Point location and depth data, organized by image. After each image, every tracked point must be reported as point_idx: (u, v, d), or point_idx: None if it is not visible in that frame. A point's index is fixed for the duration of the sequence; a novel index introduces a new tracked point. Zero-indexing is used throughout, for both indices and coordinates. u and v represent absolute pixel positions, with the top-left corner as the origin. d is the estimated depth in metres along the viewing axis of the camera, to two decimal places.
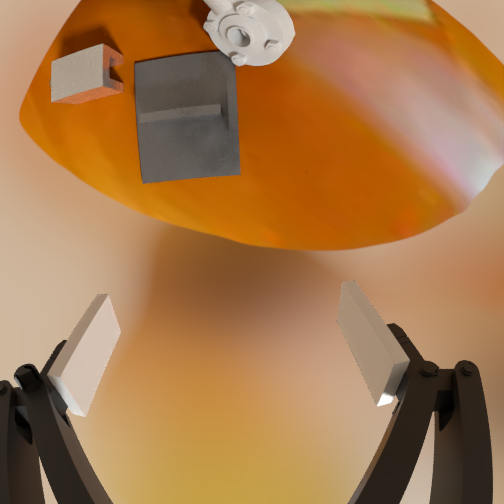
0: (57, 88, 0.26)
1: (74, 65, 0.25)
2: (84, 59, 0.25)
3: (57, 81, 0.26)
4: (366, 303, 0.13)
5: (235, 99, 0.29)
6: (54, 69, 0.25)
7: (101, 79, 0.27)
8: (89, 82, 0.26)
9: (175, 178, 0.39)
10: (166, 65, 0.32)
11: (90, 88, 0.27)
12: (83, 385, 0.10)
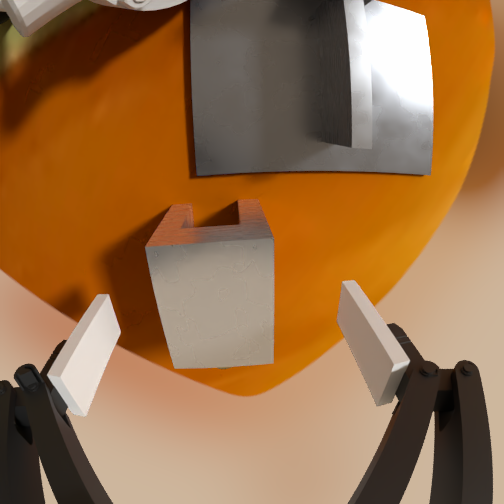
0: (245, 352, 0.16)
1: (195, 318, 0.15)
2: (184, 294, 0.14)
3: (227, 354, 0.16)
4: (366, 303, 0.13)
5: None
6: (195, 362, 0.16)
7: (253, 242, 0.13)
8: (254, 277, 0.14)
9: (431, 115, 0.17)
10: (211, 104, 0.17)
11: (271, 272, 0.14)
12: (83, 385, 0.10)
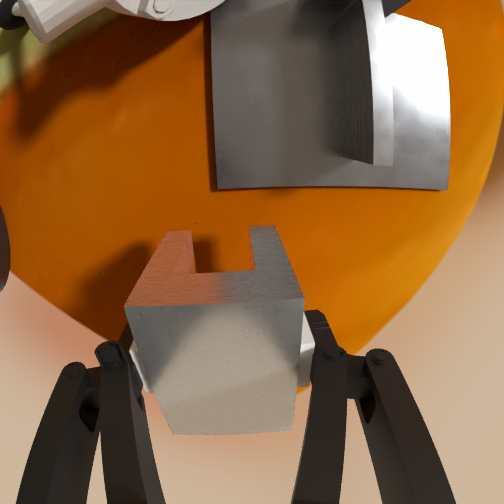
0: (259, 421, 0.12)
1: (196, 389, 0.11)
2: (180, 364, 0.10)
3: (236, 423, 0.12)
4: None
5: None
6: (197, 429, 0.12)
7: (275, 304, 0.09)
8: (274, 345, 0.10)
9: (448, 130, 0.17)
10: (233, 118, 0.17)
11: (297, 339, 0.10)
12: None
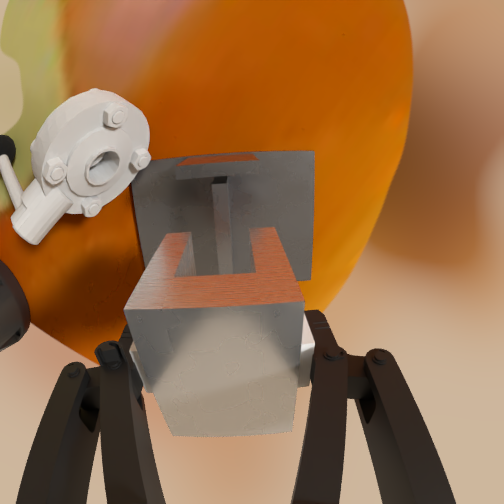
0: (259, 423, 0.12)
1: (196, 391, 0.11)
2: (180, 366, 0.10)
3: (237, 425, 0.12)
4: None
5: (205, 165, 0.20)
6: (197, 431, 0.12)
7: (276, 307, 0.09)
8: (274, 348, 0.10)
9: (310, 238, 0.30)
10: (153, 251, 0.29)
11: (297, 342, 0.10)
12: None
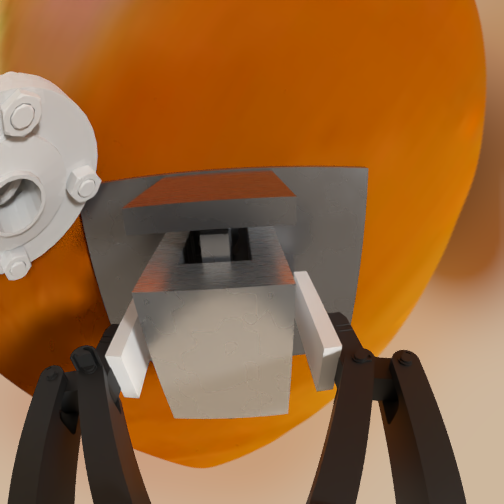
0: (256, 404, 0.13)
1: (197, 371, 0.12)
2: (182, 347, 0.11)
3: (235, 406, 0.13)
4: (311, 292, 0.14)
5: (181, 206, 0.09)
6: (198, 413, 0.13)
7: (269, 289, 0.10)
8: (269, 328, 0.11)
9: (352, 297, 0.20)
10: (122, 314, 0.19)
11: (290, 323, 0.11)
12: (137, 366, 0.12)
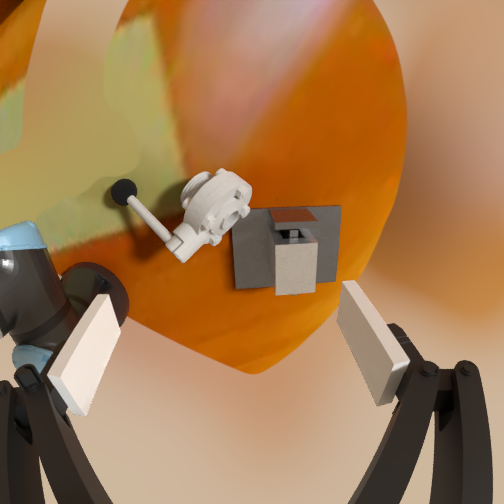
0: (305, 286, 0.43)
1: (288, 271, 0.42)
2: (286, 262, 0.41)
3: (298, 287, 0.43)
4: (366, 303, 0.13)
5: (291, 223, 0.39)
6: (285, 291, 0.43)
7: (311, 244, 0.40)
8: (310, 255, 0.41)
9: (336, 256, 0.50)
10: (241, 264, 0.49)
11: (316, 254, 0.41)
12: (83, 385, 0.10)
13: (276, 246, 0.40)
